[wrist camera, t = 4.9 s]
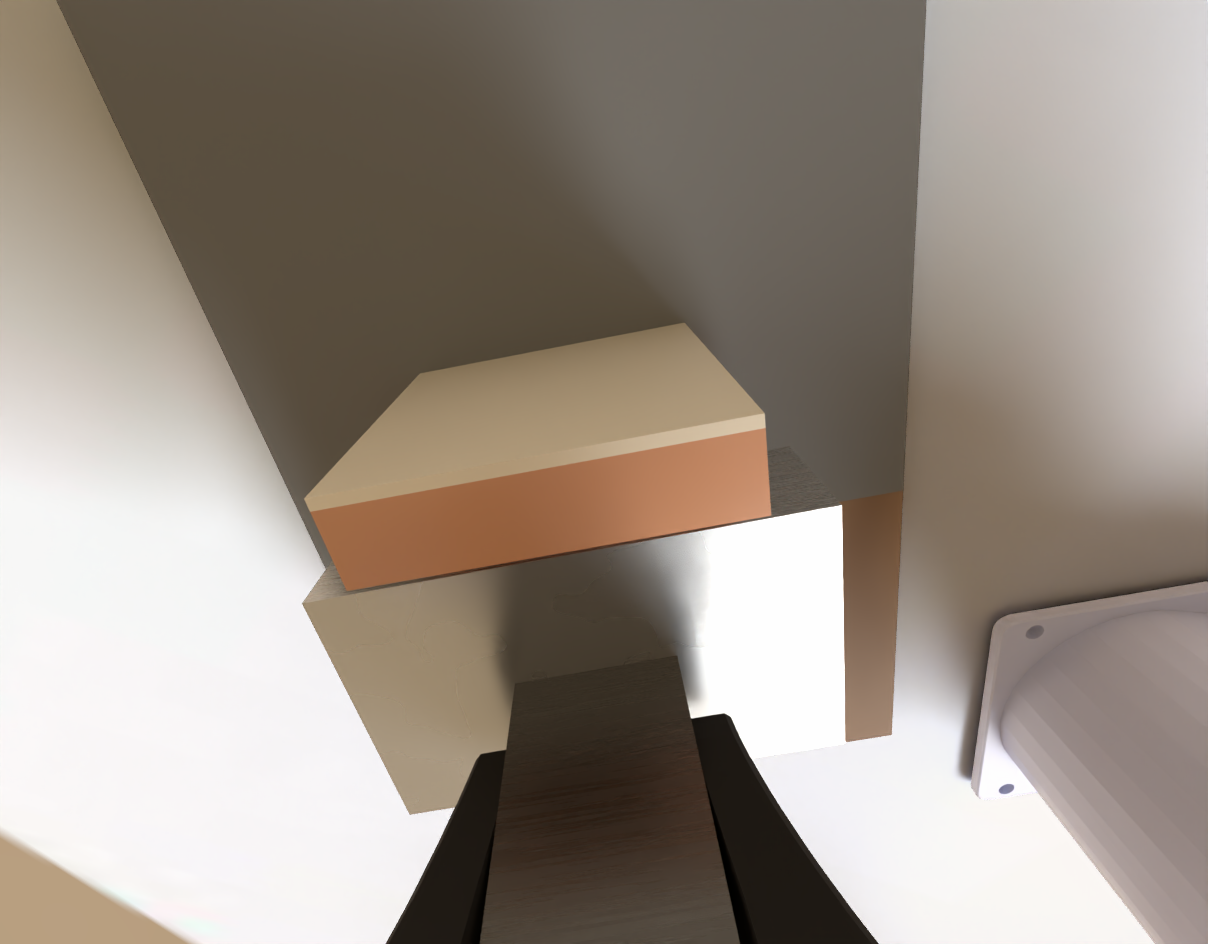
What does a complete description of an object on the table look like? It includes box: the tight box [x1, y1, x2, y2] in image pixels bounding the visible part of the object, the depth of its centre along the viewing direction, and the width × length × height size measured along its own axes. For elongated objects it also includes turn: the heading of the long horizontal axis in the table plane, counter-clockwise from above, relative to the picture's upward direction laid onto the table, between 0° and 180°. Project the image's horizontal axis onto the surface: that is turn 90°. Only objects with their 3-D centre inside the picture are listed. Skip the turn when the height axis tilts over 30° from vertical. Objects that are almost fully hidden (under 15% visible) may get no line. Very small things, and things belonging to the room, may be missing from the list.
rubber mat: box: [57, 0, 926, 569], centre depth 12 cm, size 15×13×1 cm
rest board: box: [839, 491, 903, 742], centre depth 17 cm, size 15×9×1 cm, turn 100°
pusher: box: [302, 446, 845, 944], centre depth 9 cm, size 9×6×8 cm, turn 101°
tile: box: [304, 323, 771, 591], centre depth 10 cm, size 6×2×6 cm, turn 100°
